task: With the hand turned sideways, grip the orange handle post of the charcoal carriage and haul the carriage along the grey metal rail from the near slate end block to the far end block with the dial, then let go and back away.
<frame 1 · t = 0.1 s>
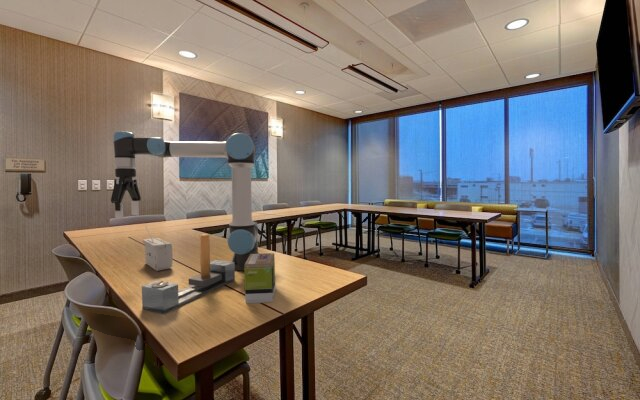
hand: (127, 216, 129), 28 cm above the table, tool pointing down, fingers open, 13 cm apart
rail: (194, 292, 115), on the table
stereo radio cassette player: (157, 266, 151), on the table
tea box: (261, 296, 113), on the table
carriage: (205, 258, 120), point 12 cm above the table, slide at -6.0 cm
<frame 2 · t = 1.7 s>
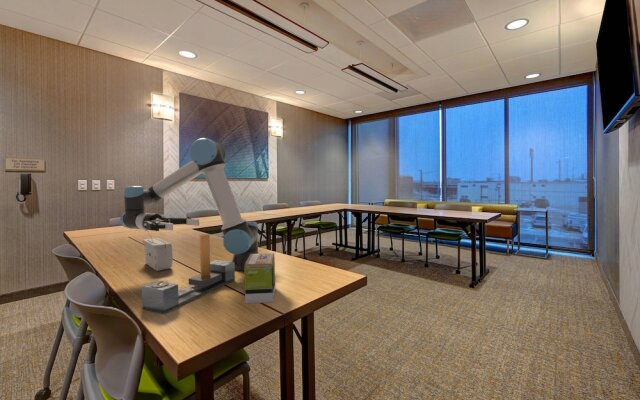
hand: (186, 224, 123), 25 cm above the table, tool horizontal, fingers open, 13 cm apart
nothing on the table moved.
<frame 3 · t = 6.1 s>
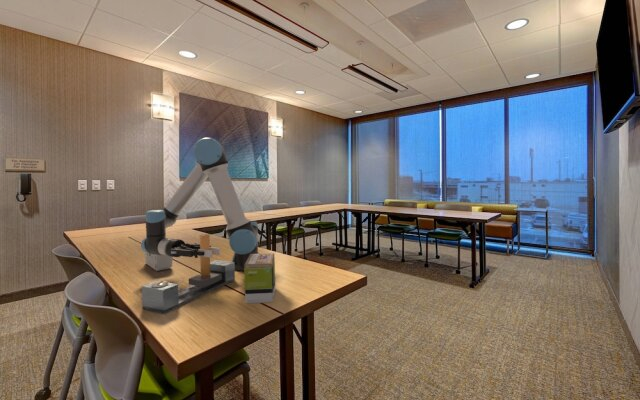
hand: (215, 252, 118), 15 cm above the table, tool horizontal, fingers closed on carriage, 4 cm apart
carriage: (205, 258, 120), point 12 cm above the table, slide at -6.0 cm, touching gripper
everything else where it was.
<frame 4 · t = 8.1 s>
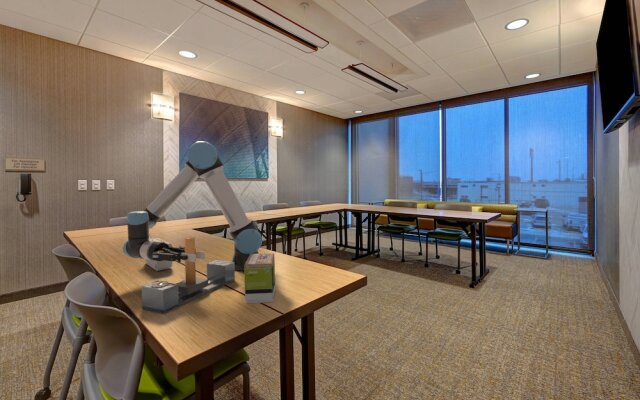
hand: (199, 256, 111), 15 cm above the table, tool horizontal, fingers closed on carriage, 4 cm apart
carriage: (190, 263, 113), point 12 cm above the table, slide at 1.7 cm, touching gripper
everything else where it was.
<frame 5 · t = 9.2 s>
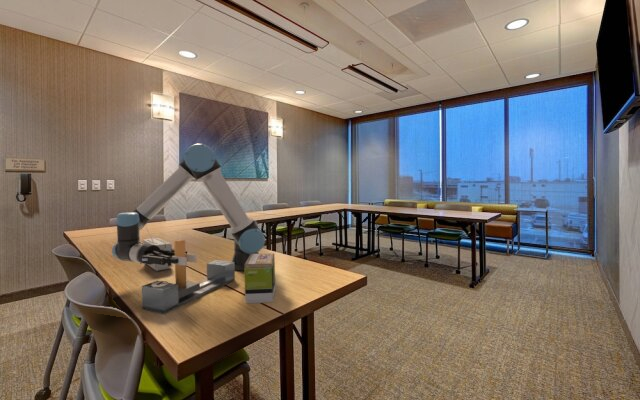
hand: (190, 260, 106), 15 cm above the table, tool horizontal, fingers closed on carriage, 4 cm apart
carriage: (180, 266, 109), point 12 cm above the table, slide at 6.3 cm, touching gripper
everything else where it was.
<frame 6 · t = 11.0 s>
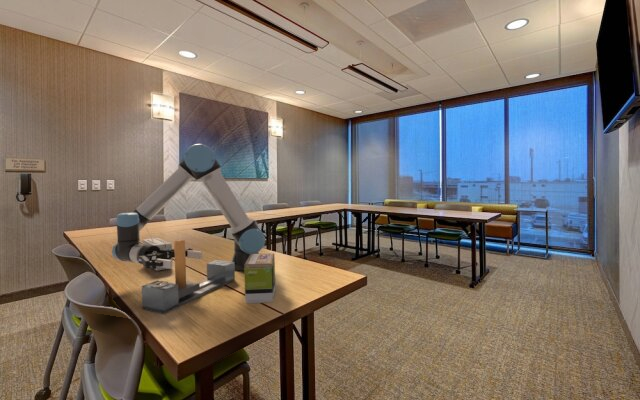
hand: (187, 259, 107), 15 cm above the table, tool horizontal, fingers open, 13 cm apart
carriage: (180, 266, 109), point 12 cm above the table, slide at 6.3 cm
everything else where it was.
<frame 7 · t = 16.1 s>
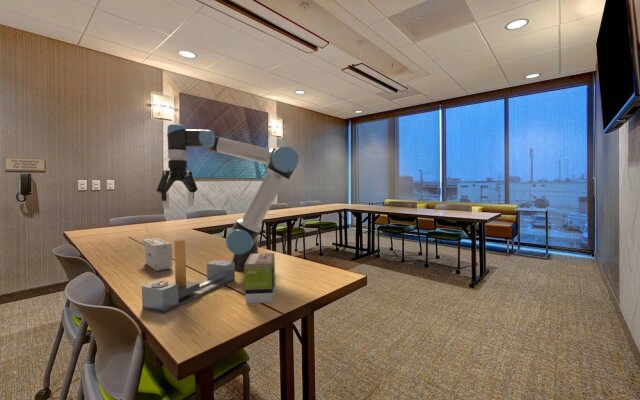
hand: (179, 207, 133), 32 cm above the table, tool pointing down, fingers open, 13 cm apart
nothing on the table moved.
at the end: carriage slide at 6.3 cm; the gripper is holding nothing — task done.
